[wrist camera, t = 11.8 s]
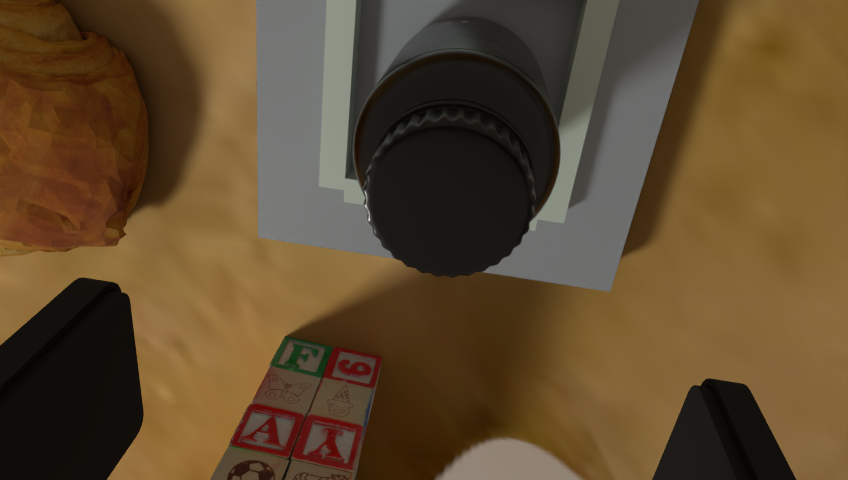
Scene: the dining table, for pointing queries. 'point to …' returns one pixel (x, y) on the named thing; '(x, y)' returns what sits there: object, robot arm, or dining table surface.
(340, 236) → the base plate
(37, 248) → the croissant
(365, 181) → the supplement bottle
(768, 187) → the dining table surface
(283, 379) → the stack of blocks
